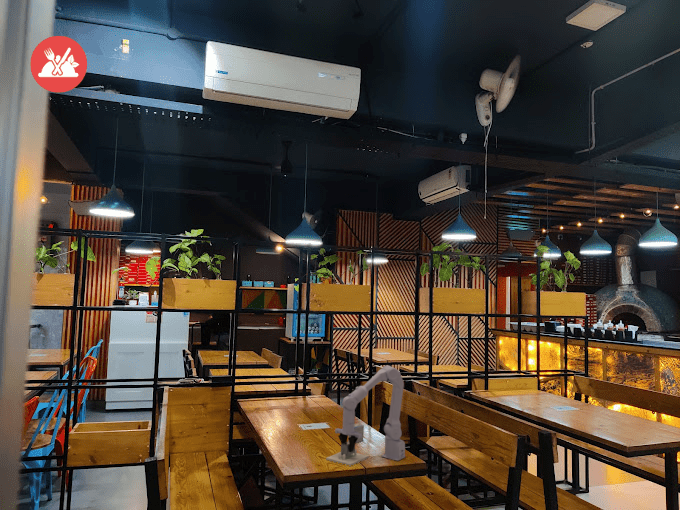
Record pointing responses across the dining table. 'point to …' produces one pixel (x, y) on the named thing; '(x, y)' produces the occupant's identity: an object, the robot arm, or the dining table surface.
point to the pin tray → (347, 458)
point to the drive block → (346, 449)
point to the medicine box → (359, 431)
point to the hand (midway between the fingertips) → (347, 450)
